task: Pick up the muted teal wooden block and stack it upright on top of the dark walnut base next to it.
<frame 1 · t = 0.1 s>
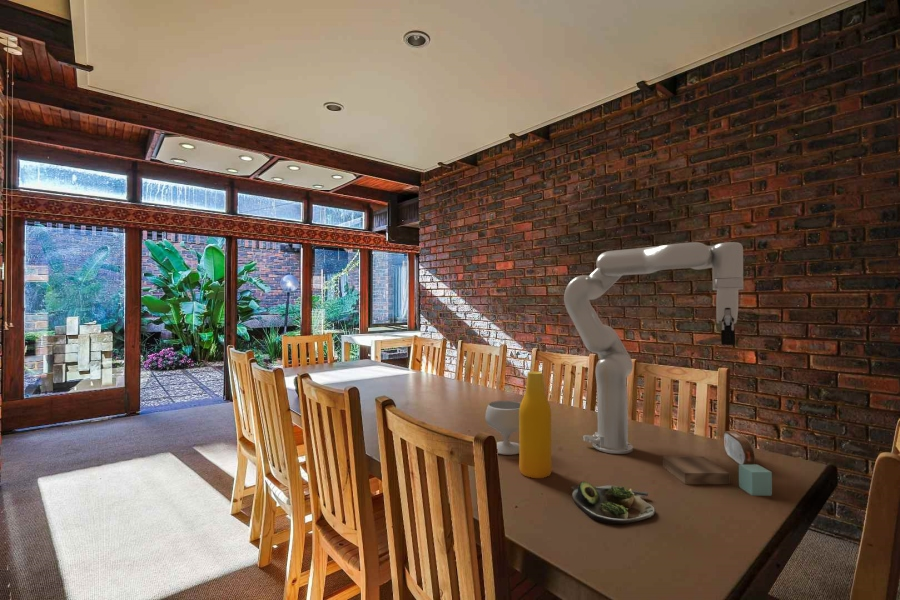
hand: (728, 343, 123), 37 cm above the table, tool pointing down, fingers open, 9 cm apart
teal block: (755, 491, 109), on the table
beer bottle: (535, 473, 122), on the table
salad plate: (609, 508, 102), on the table
chalice: (506, 449, 141), on the table
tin: (737, 462, 129), on the table
walnut base: (694, 474, 120), on the table
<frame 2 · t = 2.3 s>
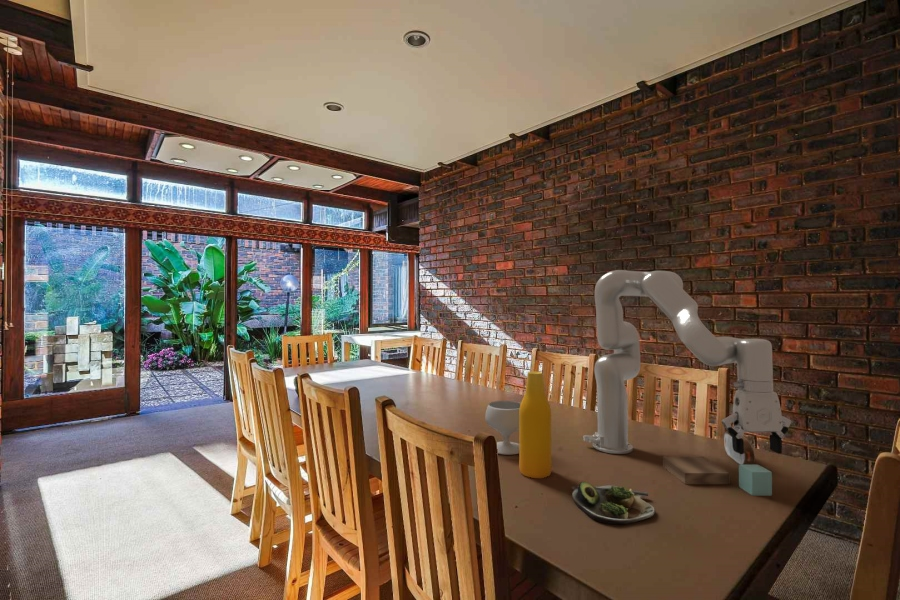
hand: (757, 452, 109), 10 cm above the table, tool pointing down, fingers open, 9 cm apart
nothing on the table moved.
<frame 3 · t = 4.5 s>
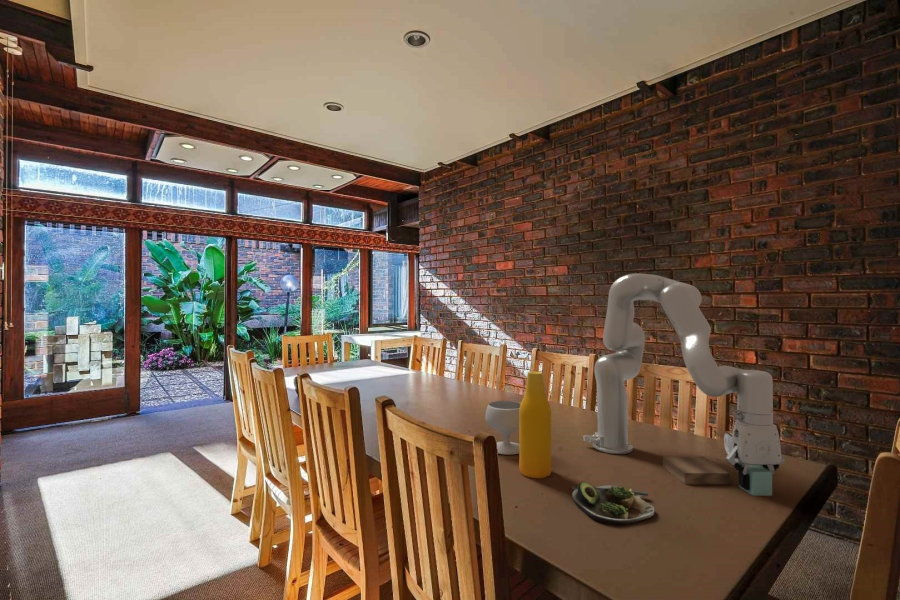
hand: (755, 487, 109), 1 cm above the table, tool pointing down, fingers closed on teal block, 5 cm apart
teal block: (755, 491, 109), on the table, touching gripper
everything else where it was.
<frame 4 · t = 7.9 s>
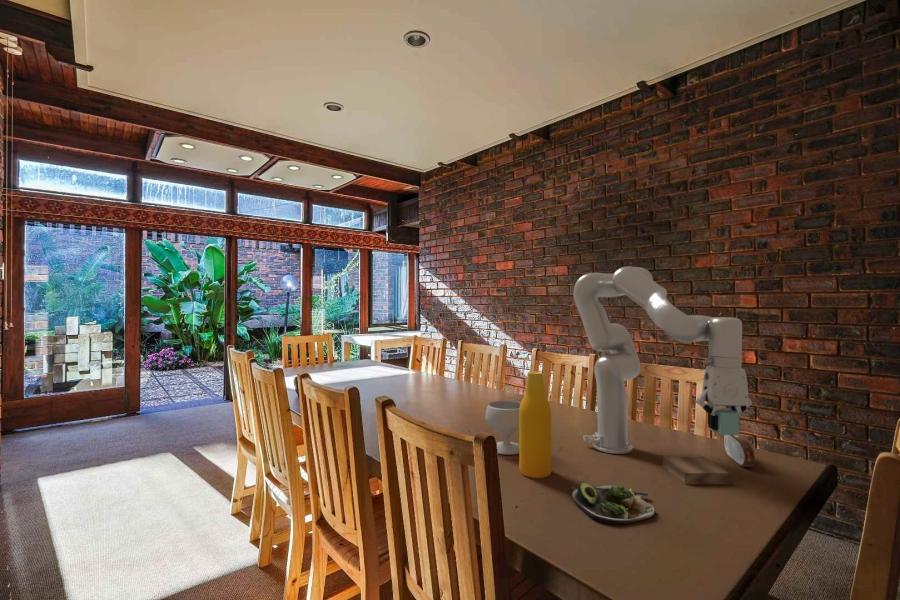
hand: (723, 428, 115), 15 cm above the table, tool pointing down, fingers closed on teal block, 5 cm apart
teal block: (723, 431, 115), point 14 cm above the table, touching gripper
everything else where it was.
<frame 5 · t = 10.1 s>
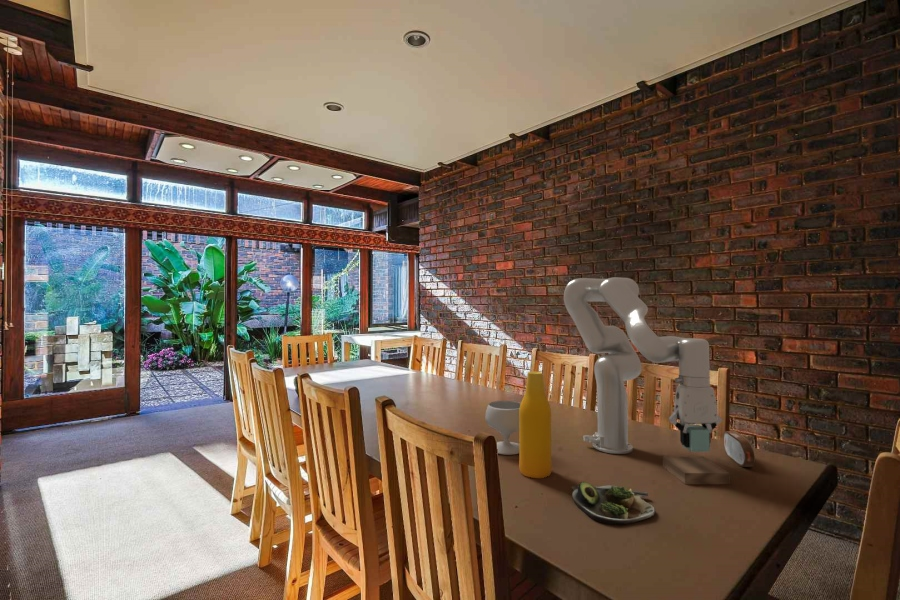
hand: (695, 445, 119), 9 cm above the table, tool pointing down, fingers closed on teal block, 5 cm apart
teal block: (695, 448, 119), point 8 cm above the table, touching gripper
everything else where it was.
when the fingers open (5 cm above the table, at t = 11.7 s): teal block drops 1 cm, resting on walnut base.
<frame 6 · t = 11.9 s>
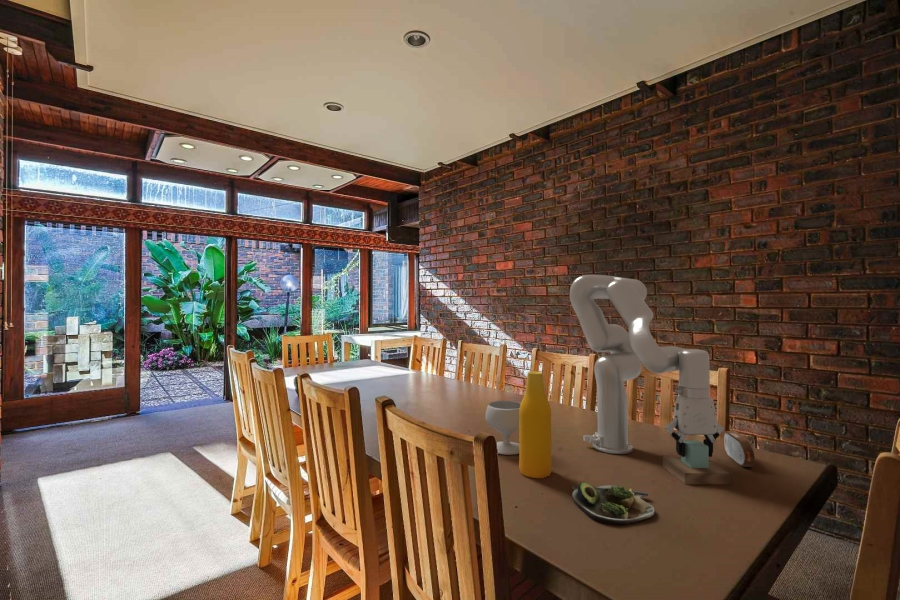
hand: (694, 454, 120), 6 cm above the table, tool pointing down, fingers open, 7 cm apart
teal block: (694, 464, 120), point 3 cm above the table, touching walnut base
everything else where it was.
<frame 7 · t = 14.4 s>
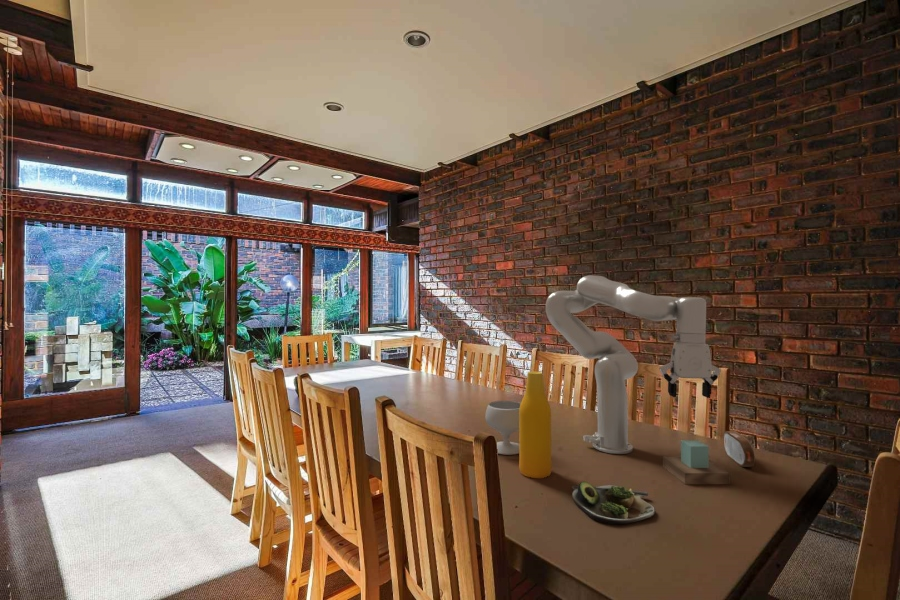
hand: (689, 396, 124), 21 cm above the table, tool pointing down, fingers open, 9 cm apart
nothing on the table moved.
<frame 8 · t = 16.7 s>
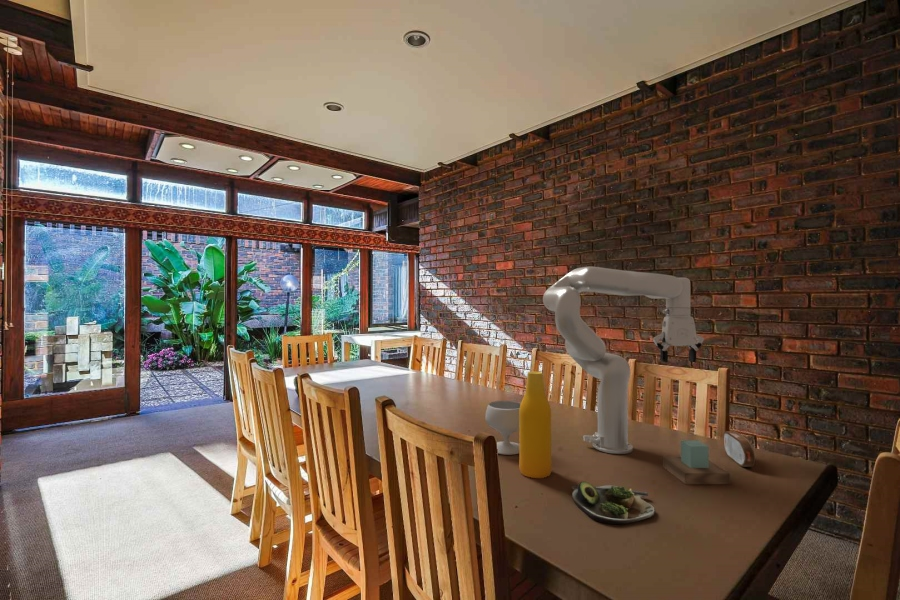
hand: (678, 361, 147), 28 cm above the table, tool pointing down, fingers open, 9 cm apart
nothing on the table moved.
at the end: teal block inside the target area on the walnut base (0.0 cm from its centre), point 3.0 cm above the walnut base's base; teal block tilted 0°; the gripper is holding nothing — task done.
